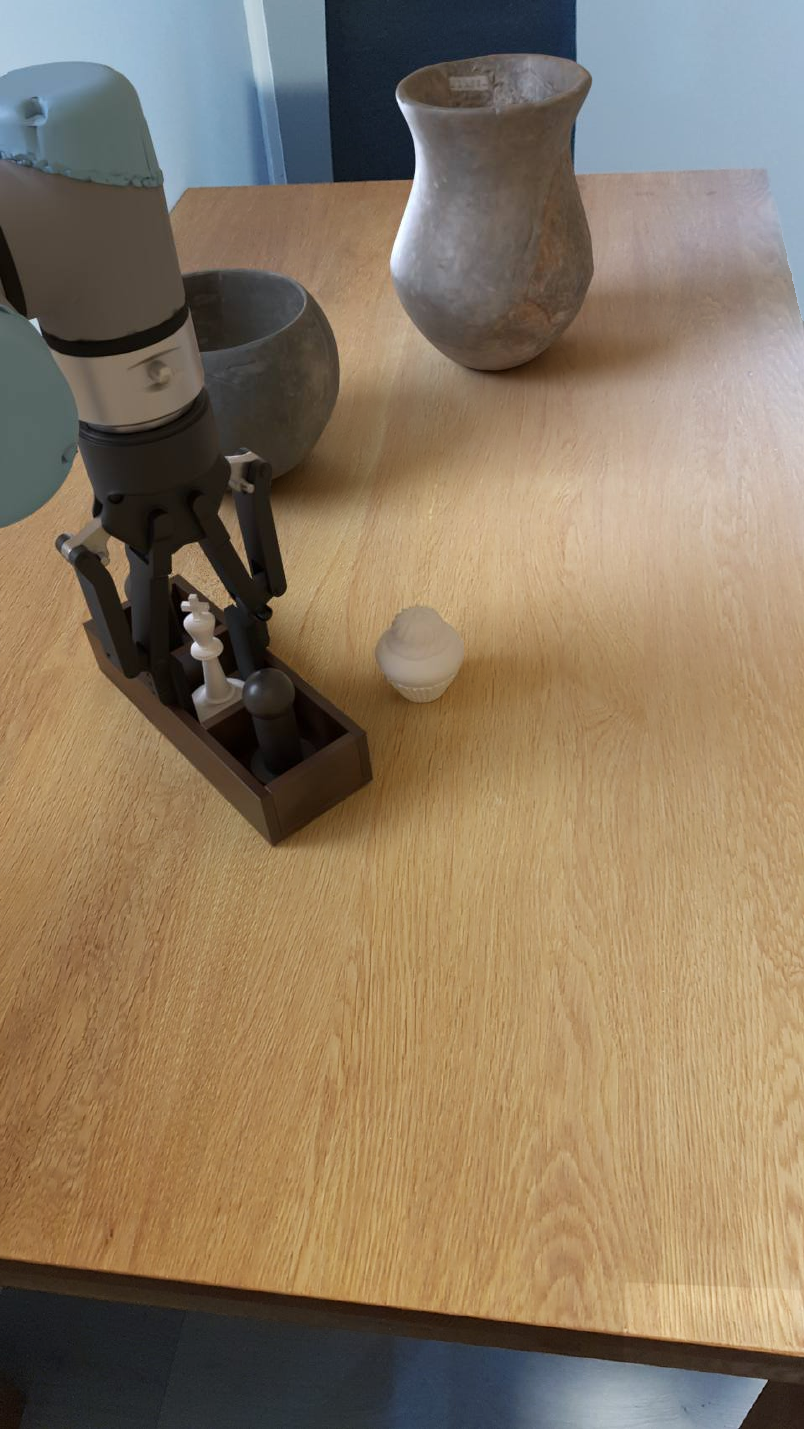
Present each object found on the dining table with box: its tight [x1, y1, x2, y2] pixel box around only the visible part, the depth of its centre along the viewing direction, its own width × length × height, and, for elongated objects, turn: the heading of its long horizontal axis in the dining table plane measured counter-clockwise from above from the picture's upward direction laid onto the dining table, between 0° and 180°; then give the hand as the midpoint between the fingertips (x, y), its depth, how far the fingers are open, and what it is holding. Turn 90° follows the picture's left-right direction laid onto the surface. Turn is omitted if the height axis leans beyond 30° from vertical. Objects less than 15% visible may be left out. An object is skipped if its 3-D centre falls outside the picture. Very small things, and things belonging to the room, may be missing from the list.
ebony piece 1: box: [123, 572, 194, 653], centre depth 76 cm, size 4×4×9 cm
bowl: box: [181, 267, 341, 492], centre depth 93 cm, size 20×20×15 cm
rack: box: [82, 573, 374, 848], centre depth 74 cm, size 8×23×5 cm, turn 40°
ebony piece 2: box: [242, 668, 317, 786], centre depth 67 cm, size 4×4×9 cm
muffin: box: [374, 604, 465, 704], centre depth 74 cm, size 6×6×7 cm
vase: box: [389, 53, 595, 371], centre depth 101 cm, size 20×19×25 cm
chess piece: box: [181, 594, 245, 723], centre depth 71 cm, size 5×5×10 cm
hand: (222, 706), depth 74 cm, fingers closed on chess piece, 5 cm apart
